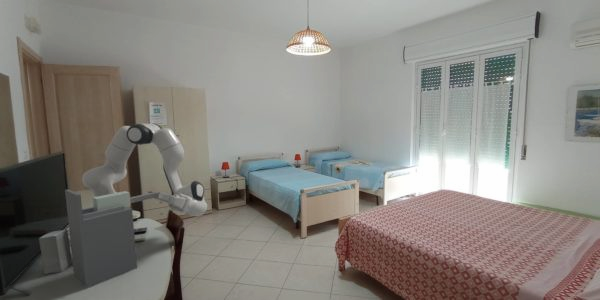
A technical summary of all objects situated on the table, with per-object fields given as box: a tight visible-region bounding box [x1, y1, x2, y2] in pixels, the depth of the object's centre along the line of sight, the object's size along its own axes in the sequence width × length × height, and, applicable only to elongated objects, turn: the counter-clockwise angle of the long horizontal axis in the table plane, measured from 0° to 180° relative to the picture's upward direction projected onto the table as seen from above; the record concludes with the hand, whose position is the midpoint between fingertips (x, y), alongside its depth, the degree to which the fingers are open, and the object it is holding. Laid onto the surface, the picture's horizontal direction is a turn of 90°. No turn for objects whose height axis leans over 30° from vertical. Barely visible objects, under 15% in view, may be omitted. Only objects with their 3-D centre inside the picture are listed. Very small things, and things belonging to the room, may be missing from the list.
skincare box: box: [38, 229, 73, 275], centre depth 120 cm, size 8×7×16 cm
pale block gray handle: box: [92, 190, 161, 212], centre depth 123 cm, size 4×26×6 cm, turn 143°
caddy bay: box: [64, 189, 138, 289], centre depth 115 cm, size 14×18×36 cm
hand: (153, 194), depth 131 cm, fingers open, 8 cm apart
